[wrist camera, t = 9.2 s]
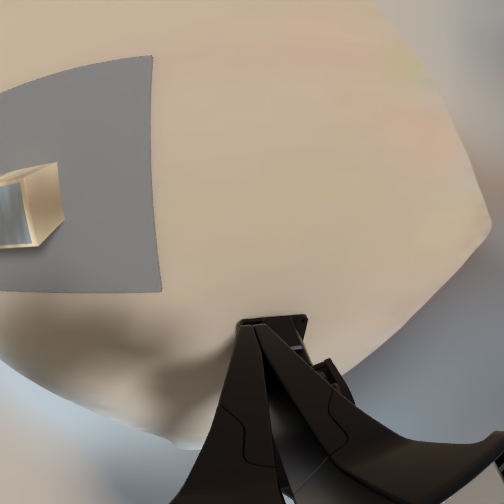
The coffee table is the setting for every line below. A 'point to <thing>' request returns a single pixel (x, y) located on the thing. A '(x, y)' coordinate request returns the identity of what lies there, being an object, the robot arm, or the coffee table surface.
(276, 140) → the coffee table surface
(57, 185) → the birch block
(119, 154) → the mat
